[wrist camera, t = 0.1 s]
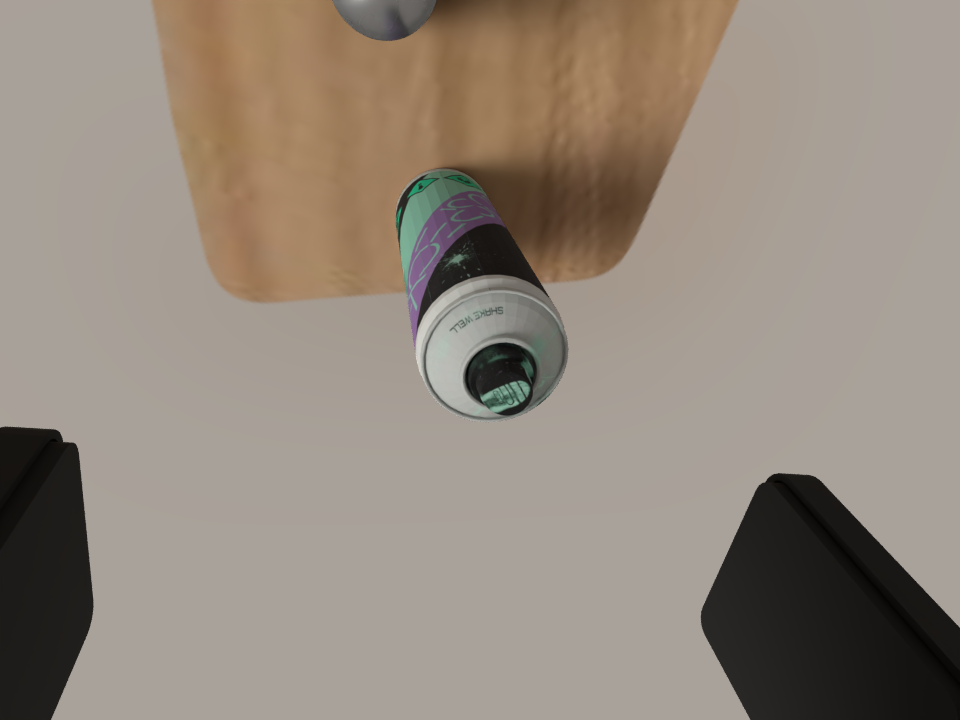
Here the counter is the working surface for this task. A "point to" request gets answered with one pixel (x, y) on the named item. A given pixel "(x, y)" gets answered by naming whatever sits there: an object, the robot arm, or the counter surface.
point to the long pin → (385, 16)
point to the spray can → (474, 302)
